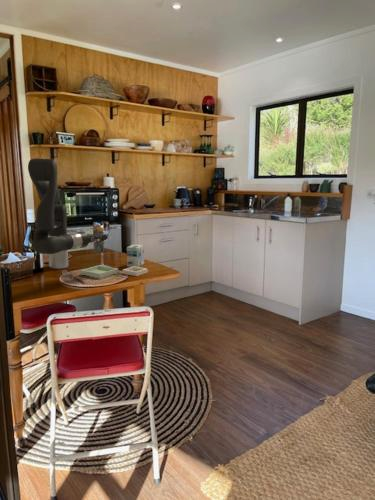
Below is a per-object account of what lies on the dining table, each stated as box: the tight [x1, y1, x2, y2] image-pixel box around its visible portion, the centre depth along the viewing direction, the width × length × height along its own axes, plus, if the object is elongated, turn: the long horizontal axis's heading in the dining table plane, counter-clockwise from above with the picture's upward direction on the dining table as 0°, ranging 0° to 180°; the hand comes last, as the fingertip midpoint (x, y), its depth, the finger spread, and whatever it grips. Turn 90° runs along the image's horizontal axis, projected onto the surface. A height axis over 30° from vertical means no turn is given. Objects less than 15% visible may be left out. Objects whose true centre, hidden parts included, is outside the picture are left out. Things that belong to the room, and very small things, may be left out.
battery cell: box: [92, 223, 105, 254], centre depth 183 cm, size 5×5×14 cm
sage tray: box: [79, 264, 119, 280], centre depth 187 cm, size 13×13×2 cm
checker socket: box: [122, 266, 149, 277], centre depth 190 cm, size 9×9×2 cm
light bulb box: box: [126, 243, 145, 268], centre depth 207 cm, size 11×7×11 cm, turn 168°
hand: (102, 236), depth 186 cm, fingers closed on battery cell, 4 cm apart
